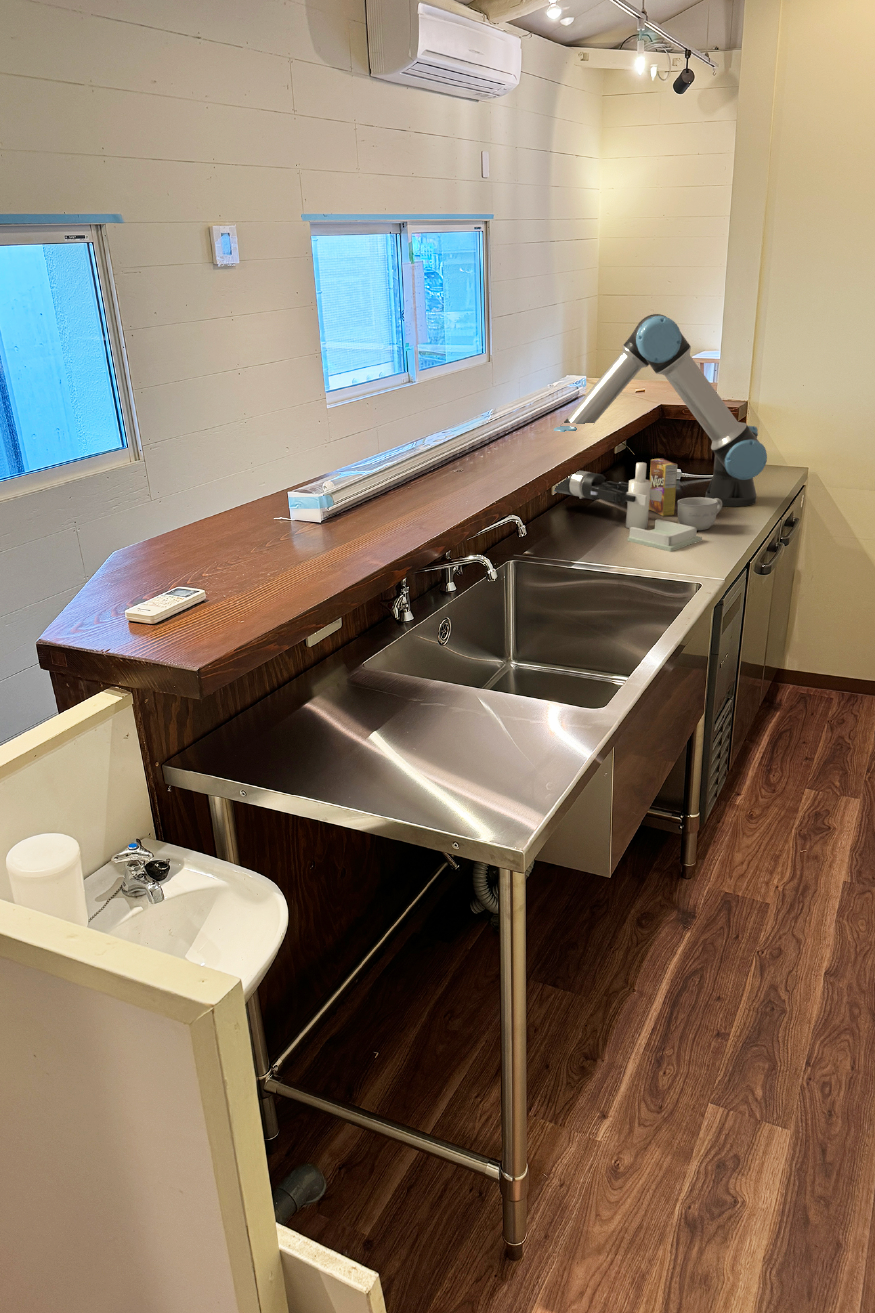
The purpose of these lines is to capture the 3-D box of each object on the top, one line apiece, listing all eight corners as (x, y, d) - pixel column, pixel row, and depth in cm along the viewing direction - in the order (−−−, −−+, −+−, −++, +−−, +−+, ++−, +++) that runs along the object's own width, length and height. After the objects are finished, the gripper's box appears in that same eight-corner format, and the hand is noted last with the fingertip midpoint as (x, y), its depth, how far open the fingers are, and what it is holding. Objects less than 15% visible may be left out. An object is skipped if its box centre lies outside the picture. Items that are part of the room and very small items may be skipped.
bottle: (634, 522, 274) (639, 460, 267) (651, 526, 270) (656, 463, 263) (621, 526, 270) (625, 463, 263) (638, 530, 266) (643, 466, 259)
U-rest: (658, 530, 266) (659, 518, 264) (701, 540, 256) (702, 528, 255) (627, 540, 257) (628, 528, 256) (670, 551, 248) (671, 538, 246)
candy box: (646, 509, 288) (650, 459, 282) (659, 508, 289) (663, 457, 283) (661, 516, 280) (665, 464, 274) (674, 515, 281) (678, 463, 275)
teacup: (687, 534, 262) (690, 506, 259) (668, 524, 271) (670, 497, 268) (732, 530, 265) (735, 501, 262) (712, 520, 275) (714, 493, 272)
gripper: (609, 492, 286) (673, 505, 270) (566, 503, 275) (631, 518, 259) (610, 467, 283) (675, 479, 267) (567, 477, 272) (632, 490, 256)
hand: (653, 498), depth 263 cm, fingers closed on bottle, 6 cm apart
